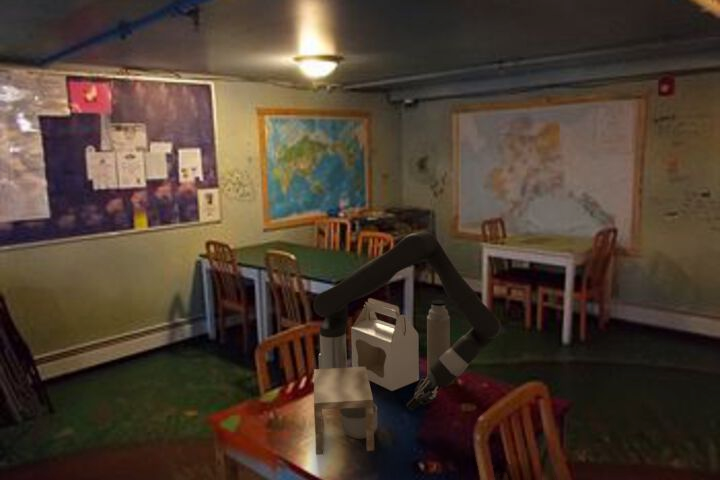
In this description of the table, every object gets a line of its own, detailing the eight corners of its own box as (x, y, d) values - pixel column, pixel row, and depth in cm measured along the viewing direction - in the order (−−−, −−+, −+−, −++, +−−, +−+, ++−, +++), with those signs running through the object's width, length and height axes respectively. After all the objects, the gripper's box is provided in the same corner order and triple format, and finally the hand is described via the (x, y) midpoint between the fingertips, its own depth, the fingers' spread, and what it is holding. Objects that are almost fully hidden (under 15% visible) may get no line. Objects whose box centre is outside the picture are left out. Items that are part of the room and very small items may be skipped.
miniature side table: (366, 411, 176) (365, 366, 174) (374, 450, 153) (373, 399, 151) (316, 414, 175) (314, 369, 172) (316, 454, 152) (313, 403, 150)
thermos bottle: (427, 371, 205) (426, 298, 200) (449, 372, 204) (449, 298, 200) (427, 380, 197) (427, 304, 193) (450, 381, 196) (450, 304, 192)
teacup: (374, 444, 156) (373, 418, 155) (336, 441, 159) (335, 415, 157) (382, 420, 170) (381, 396, 169) (347, 418, 172) (346, 393, 171)
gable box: (351, 372, 207) (349, 299, 202) (378, 363, 215) (376, 292, 210) (392, 391, 190) (391, 312, 185) (419, 380, 198) (419, 304, 193)
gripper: (435, 350, 169) (396, 390, 170) (445, 367, 156) (402, 411, 157) (452, 365, 170) (413, 406, 172) (464, 384, 157) (421, 427, 159)
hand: (408, 408), depth 164 cm, fingers closed
